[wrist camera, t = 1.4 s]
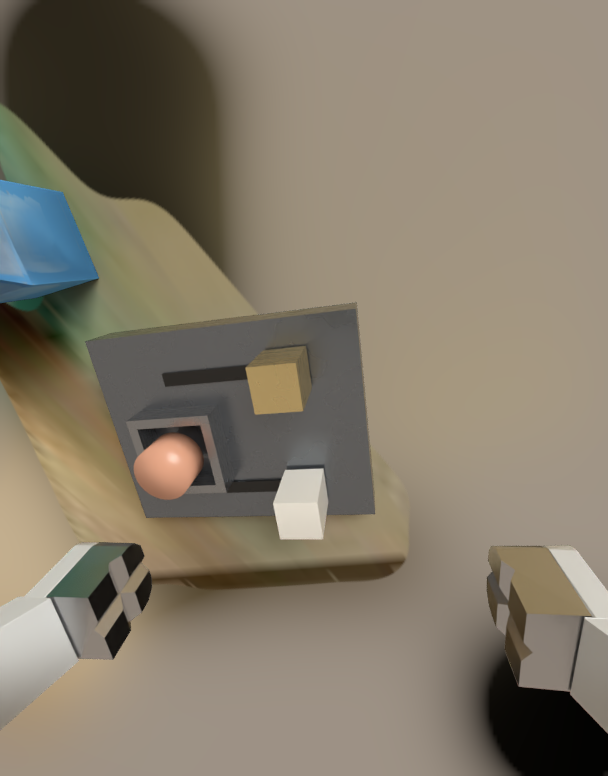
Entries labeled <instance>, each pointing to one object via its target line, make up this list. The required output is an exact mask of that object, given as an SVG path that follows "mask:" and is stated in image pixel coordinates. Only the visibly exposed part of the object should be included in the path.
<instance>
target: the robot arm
mask: <svg viewBox="0 0 608 776" xmlns="http://www.w3.org/2000/svg"><path fill="white" fill-rule="evenodd" d="M143 558H144V553H143V551H142V548H141V545H138V544H135V543H108V542H99V543H94V542H81V543H79V544H77V545H75V546H74V547H73V548H72V549H71V550H70V551H69V552H68V553H67V554H66V555H65V556H64V557H63V558H62V559H61V560H60V561H59V562H58V563H57V564H56V565H55V566H54V567H53V568H52V569H51V570H50V571H49V572H48V573H47V574H46V575H45V576H44V577H43V578H42V579H41V580H40V581H39V582H38V583H37V584H36V586H34V588H32V589H31V591H29V592H28V593H27V594H26V596H25V597H17V598H16V599H14V600H12V601H10V602H8V603H7V604H5V605H3V606H1V607H0V730H1V729H2V728H3V727H4V726H6V725H7V724H8V723H9V722H10V721H11V720H12V719H14V718H15V717H16V716H17V715H18V714H19V713H20V712H21V711H22V710H24V709H25V708H26V707H27V706H28V705H29V704H30V703H32V702H33V701H34V700H35V699H36V698H37V697H38V696H40V695H41V694H42V693H43V692H44V691H45V690H46V689H47V688H49V687H50V686H51V685H52V684H53V683H54V682H55V681H56V680H58V679H59V678H60V677H61V676H62V675H63V674H64V673H65V672H66V671H68V670H69V669H70V668H71V667H72V666H73V665H74V664H76V663H77V662H78V661H79V660H78V659H112V660H113V659H114V658H115V656H116V654H117V653H118V651H119V649H120V648H121V646H122V644H123V643H124V641H125V639H126V638H127V636H128V634H129V633H130V631H131V623H130V621H131V620H133V619H134V618H135V617H136V616H138V615H139V614H140V613H142V611H143V609H144V608H145V606H146V604H147V602H148V600H149V597H150V593H151V589H152V578H151V574H150V571H149V569H148V568H146V567H145V566H144V565H143V564H142V563H141V562H142V560H143ZM488 561H489V564H490V566H491V569H492V571H493V572H492V573H491V574H490V575H489V576H488V577H487V595H488V603H489V607H490V610H491V614H492V617H493V620H494V623H495V626H496V627H497V629H499V630H500V631H501V632H502V633H503V634H504V635H505V636H506V637H505V652H506V655H507V657H508V660H509V663H510V665H511V668H512V670H513V673H514V676H515V678H516V681H517V683H518V686H519V687H529V688H539V689H551V690H560V691H571V692H570V695H572V697H573V698H574V699H575V700H576V701H577V702H578V703H579V704H580V705H581V706H582V707H583V708H584V709H585V710H586V711H587V712H588V713H589V714H590V715H591V716H592V717H593V718H594V720H595V721H596V722H597V723H598V724H599V725H600V726H601V727H602V728H603V729H604V730H605V731H606V732H607V733H608V591H607V589H606V588H605V587H604V585H603V584H602V583H601V581H600V580H599V579H598V578H597V577H596V575H595V574H594V572H593V571H592V570H591V568H590V567H589V566H588V564H587V563H586V562H585V560H584V559H583V558H582V557H581V555H580V554H579V553H578V551H577V550H576V549H575V548H573V547H572V546H570V545H564V546H562V545H561V546H560V545H557V546H491V547H490V549H489V555H488Z"/></svg>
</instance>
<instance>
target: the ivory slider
mask: <svg viewBox="0 0 608 776" xmlns="http://www.w3.org/2000/svg"><path fill="white" fill-rule="evenodd" d="M273 506H274V511H275V516H276V521H277V525H278V530H279V535H280V539H323V536H324V529H325V522H326V515H327V507H328V496H327V489H326V482H325V475H324V469H298V470H285V471H284V474H283V477H282V480H281V482H280V485H279V488H278V491H277V494H276V497H275V499H274V502H273Z"/></svg>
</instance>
